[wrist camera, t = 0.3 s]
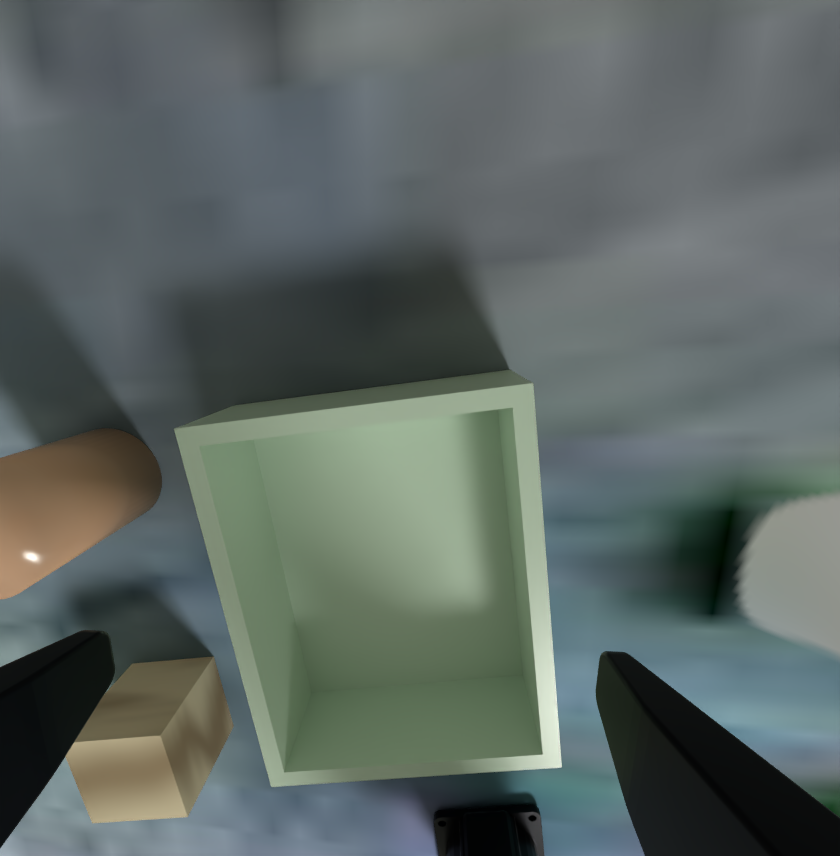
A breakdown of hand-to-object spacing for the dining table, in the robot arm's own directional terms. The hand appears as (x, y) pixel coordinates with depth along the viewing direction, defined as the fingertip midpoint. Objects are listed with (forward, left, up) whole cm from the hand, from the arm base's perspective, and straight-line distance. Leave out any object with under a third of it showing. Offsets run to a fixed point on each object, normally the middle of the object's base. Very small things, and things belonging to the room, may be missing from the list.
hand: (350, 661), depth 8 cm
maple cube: (-14, +15, -14) cm, 25 cm away
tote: (-6, +1, -14) cm, 15 cm away
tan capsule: (0, +15, -14) cm, 21 cm away
